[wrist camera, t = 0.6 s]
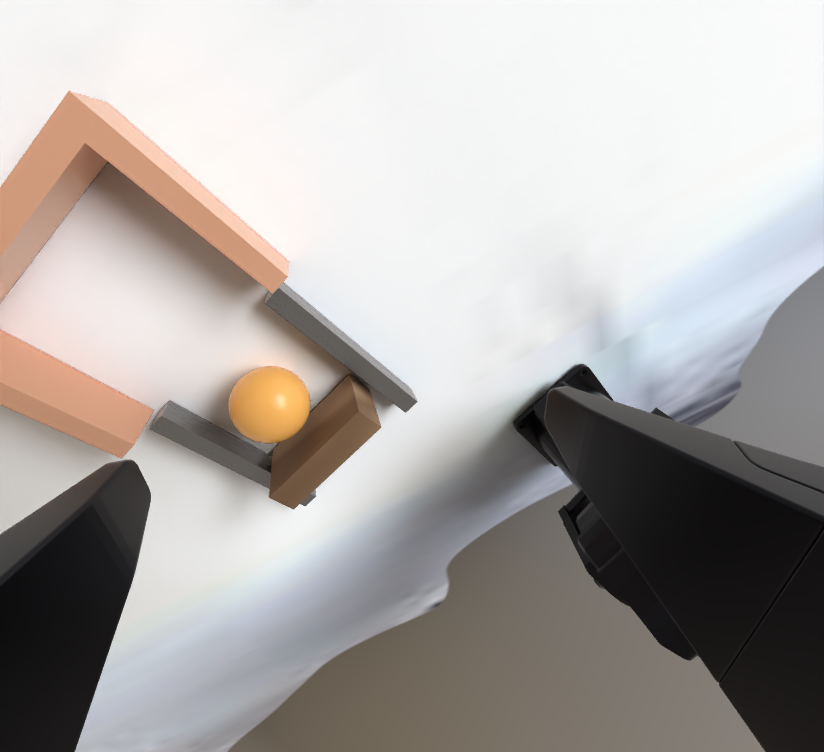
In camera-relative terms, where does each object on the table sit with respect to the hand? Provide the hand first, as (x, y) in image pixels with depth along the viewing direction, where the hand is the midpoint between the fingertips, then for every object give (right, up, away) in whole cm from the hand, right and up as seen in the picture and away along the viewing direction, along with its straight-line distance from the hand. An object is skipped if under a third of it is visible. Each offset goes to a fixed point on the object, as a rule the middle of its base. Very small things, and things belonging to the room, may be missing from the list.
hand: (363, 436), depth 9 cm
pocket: (-12, +5, +10) cm, 16 cm away
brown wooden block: (-5, -1, +15) cm, 16 cm away
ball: (-6, 0, +12) cm, 13 cm away
